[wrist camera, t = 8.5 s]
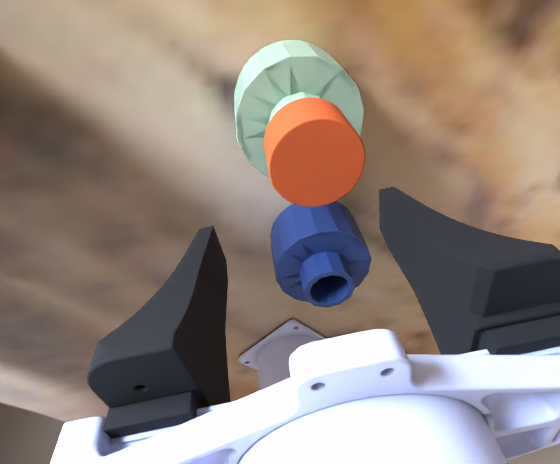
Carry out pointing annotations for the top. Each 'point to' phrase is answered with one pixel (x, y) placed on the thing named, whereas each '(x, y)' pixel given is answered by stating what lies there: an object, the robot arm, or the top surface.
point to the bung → (313, 152)
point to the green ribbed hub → (288, 91)
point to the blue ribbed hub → (319, 253)
